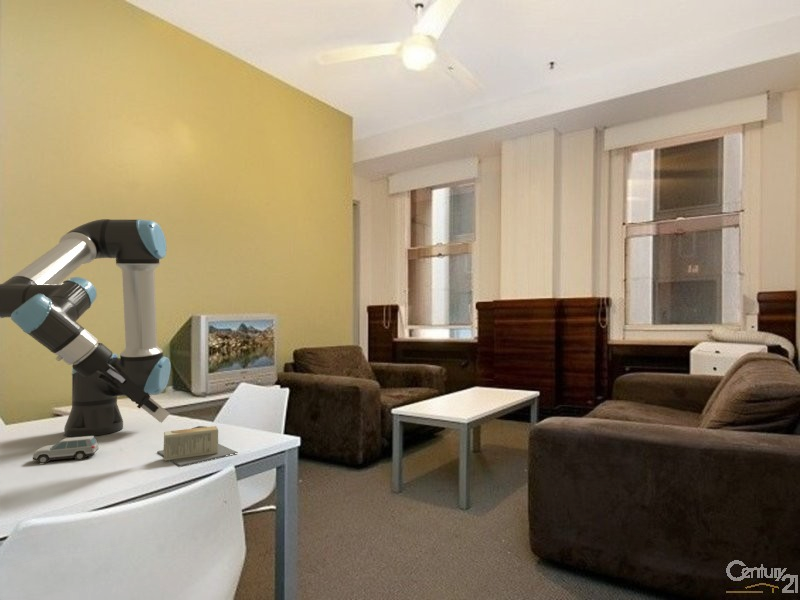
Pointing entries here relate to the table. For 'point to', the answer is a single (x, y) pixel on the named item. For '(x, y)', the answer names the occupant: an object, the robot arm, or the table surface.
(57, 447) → the toy car
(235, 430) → the table surface
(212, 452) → the skincare box
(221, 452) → the mat
